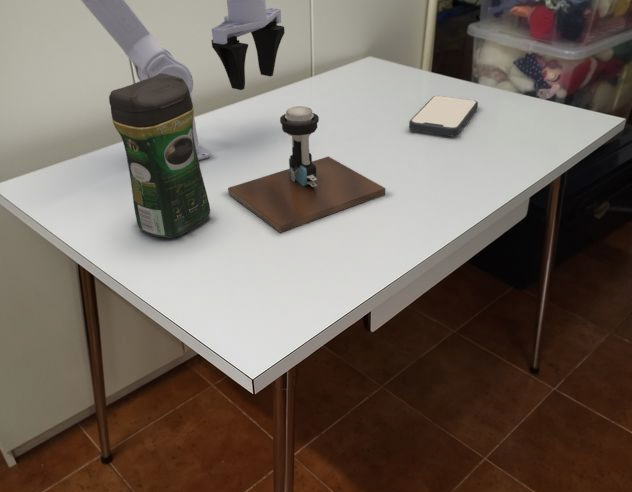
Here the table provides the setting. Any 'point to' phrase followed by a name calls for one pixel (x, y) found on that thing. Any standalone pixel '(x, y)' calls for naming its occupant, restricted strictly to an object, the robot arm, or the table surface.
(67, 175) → the table surface
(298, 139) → the push button
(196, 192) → the coffee jar
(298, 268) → the table surface
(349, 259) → the table surface
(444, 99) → the phone case
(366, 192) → the walnut board
